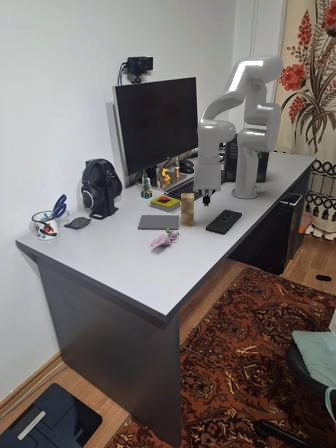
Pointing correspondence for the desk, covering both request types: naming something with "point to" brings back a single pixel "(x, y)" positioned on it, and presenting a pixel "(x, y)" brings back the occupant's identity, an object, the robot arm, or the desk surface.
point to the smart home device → (224, 222)
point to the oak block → (187, 209)
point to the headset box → (232, 160)
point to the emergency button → (166, 204)
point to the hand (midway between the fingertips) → (206, 205)
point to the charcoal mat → (159, 222)
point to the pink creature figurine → (165, 238)
